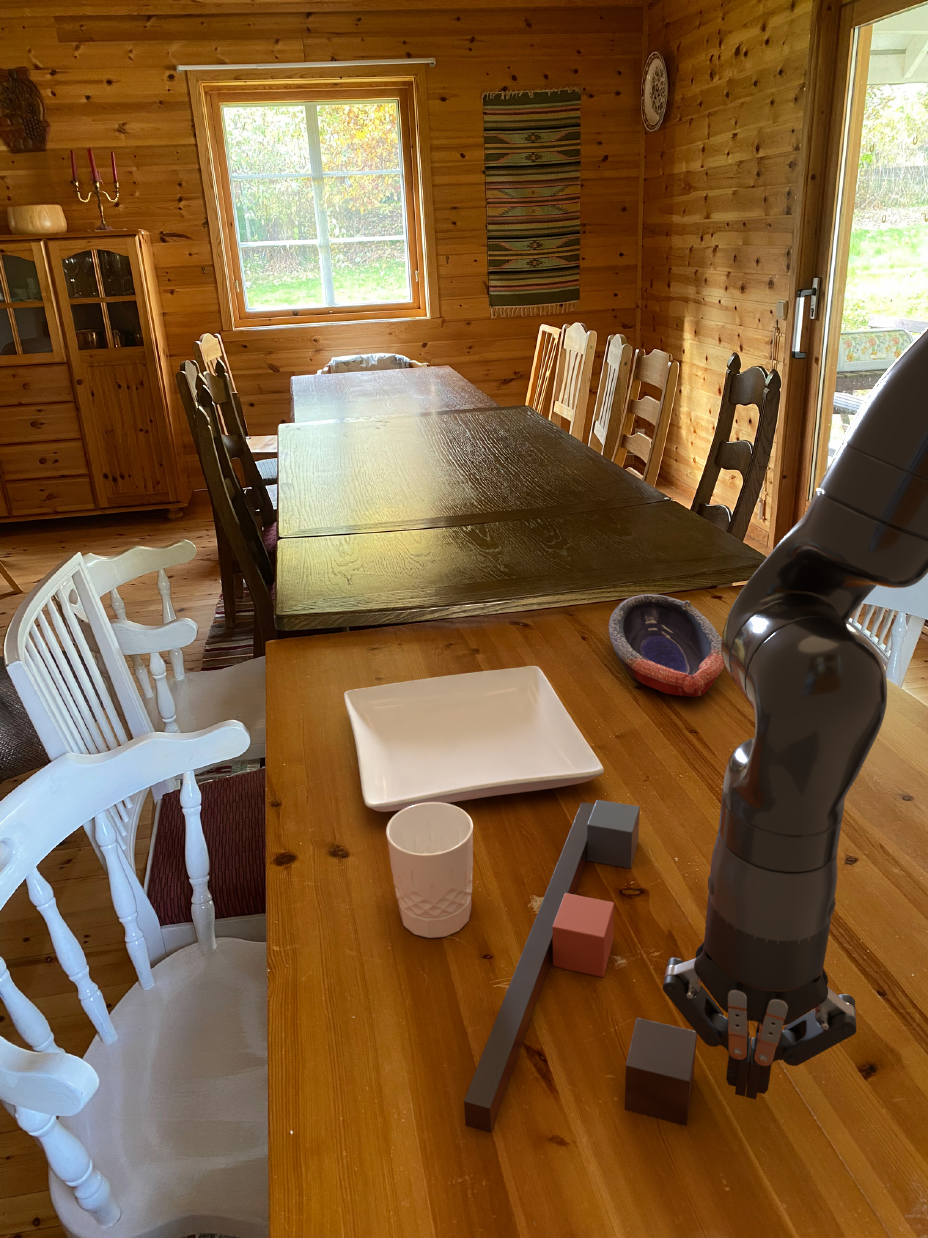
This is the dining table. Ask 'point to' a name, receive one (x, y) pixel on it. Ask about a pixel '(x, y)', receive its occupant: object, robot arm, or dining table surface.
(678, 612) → the dish
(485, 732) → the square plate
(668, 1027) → the walnut block
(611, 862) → the slate block
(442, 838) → the white cup
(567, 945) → the terracotta block
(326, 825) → the dining table surface
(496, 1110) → the rail
